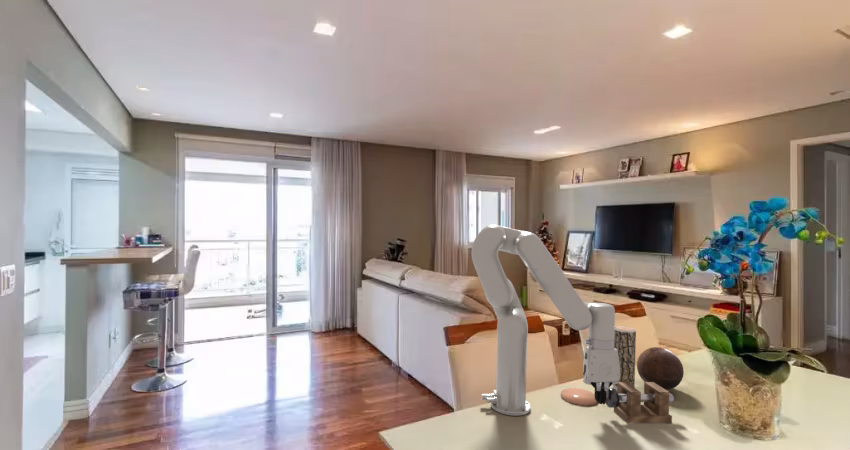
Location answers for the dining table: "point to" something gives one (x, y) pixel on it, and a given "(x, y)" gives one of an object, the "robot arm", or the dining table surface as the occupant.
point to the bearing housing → (648, 411)
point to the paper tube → (626, 353)
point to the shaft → (615, 398)
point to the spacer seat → (578, 396)
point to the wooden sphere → (660, 367)
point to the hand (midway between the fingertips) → (600, 402)
